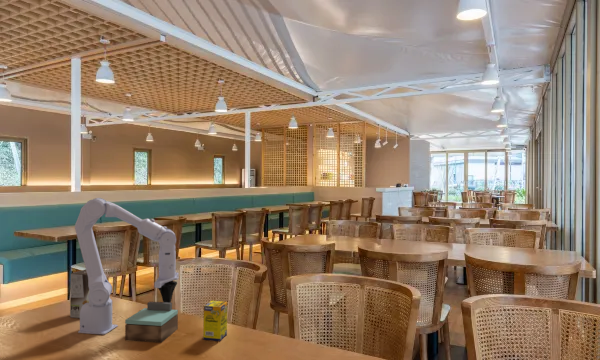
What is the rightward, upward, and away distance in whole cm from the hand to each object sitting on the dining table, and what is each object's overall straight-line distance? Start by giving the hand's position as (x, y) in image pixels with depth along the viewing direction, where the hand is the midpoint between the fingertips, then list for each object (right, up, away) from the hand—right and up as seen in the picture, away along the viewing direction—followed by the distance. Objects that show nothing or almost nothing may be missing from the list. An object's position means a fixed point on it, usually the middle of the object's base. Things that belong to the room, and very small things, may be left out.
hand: (167, 303), depth 147 cm
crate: (-1, -7, -10) cm, 13 cm away
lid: (-1, -2, -10) cm, 11 cm away
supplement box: (+19, -8, -12) cm, 24 cm away
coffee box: (-33, -7, +9) cm, 35 cm away
